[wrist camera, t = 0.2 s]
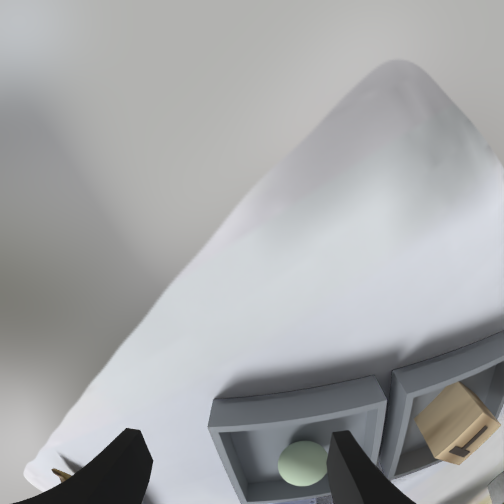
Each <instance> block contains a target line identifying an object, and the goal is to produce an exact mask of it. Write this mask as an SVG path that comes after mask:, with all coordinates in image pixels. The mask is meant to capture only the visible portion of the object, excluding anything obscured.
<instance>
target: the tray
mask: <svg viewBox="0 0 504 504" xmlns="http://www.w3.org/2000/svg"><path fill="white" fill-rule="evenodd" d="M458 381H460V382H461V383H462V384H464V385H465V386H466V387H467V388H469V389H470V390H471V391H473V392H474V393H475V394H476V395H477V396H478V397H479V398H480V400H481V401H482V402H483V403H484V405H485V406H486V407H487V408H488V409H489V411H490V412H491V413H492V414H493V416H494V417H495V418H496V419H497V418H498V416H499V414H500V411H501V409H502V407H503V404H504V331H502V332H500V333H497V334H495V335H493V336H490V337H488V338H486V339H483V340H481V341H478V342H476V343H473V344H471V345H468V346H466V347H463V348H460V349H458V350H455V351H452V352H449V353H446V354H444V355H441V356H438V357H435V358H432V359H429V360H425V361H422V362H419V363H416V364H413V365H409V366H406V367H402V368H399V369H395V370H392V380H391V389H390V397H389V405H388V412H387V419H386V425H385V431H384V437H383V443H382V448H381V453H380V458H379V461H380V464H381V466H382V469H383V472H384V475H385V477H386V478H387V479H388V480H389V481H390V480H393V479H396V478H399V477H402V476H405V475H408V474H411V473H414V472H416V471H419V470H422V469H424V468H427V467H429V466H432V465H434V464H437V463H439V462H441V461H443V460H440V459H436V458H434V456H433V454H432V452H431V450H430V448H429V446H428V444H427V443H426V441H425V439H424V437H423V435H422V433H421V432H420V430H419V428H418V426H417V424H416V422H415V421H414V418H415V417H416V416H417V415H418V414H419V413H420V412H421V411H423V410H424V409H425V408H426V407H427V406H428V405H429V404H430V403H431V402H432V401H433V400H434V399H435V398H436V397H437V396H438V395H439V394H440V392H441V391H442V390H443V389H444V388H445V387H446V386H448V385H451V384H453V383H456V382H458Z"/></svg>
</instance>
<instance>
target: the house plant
mask: <svg viewBox="0 0 504 504" xmlns="http://www.w3.org/2000/svg"><path fill="white" fill-rule="evenodd" d="M488 490H489V493H490V497H491V500H492V504H504V472H503V473H501V474H500V475H498V476H497V477H496V478H495V479H494V480H493V481H492V482H491V483H490V484H489V485H488Z"/></svg>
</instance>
